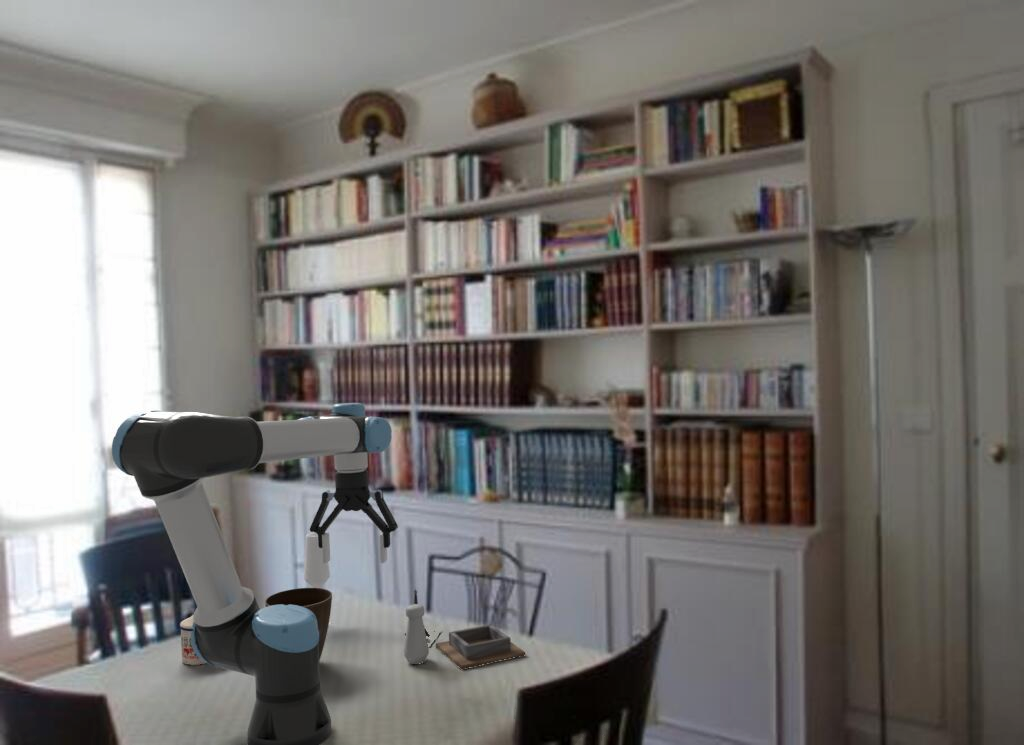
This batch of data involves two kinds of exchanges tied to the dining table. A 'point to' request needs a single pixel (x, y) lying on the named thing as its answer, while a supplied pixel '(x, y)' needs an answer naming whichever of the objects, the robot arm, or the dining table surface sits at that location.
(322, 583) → the champagne flute
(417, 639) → the salt shaker
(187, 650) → the teacup with lid
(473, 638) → the socket stand
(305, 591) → the plant pot
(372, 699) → the dining table surface
